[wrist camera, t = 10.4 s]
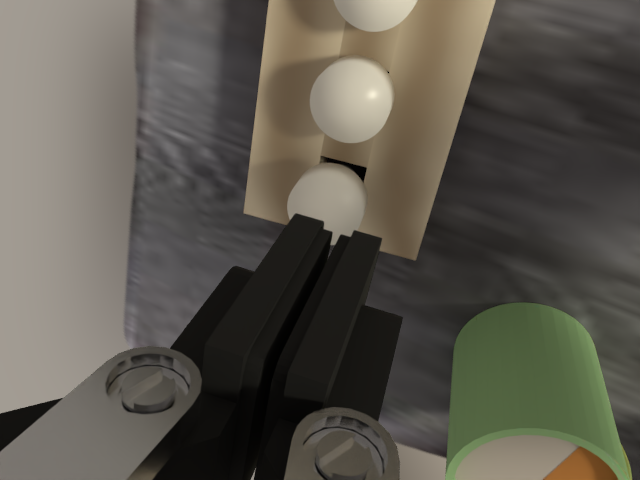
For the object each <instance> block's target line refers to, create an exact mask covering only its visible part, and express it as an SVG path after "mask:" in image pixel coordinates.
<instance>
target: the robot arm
mask: <svg viewBox="0 0 640 480" xmlns="http://www.w3.org/2000/svg"><path fill="white" fill-rule="evenodd" d="M332 234H333V232H332V231H329V230H325V229H324V221H322V220H318V219H315V218H311V217H308V216H304V215H301V214H297V213H295V214H294V215H293V217H292V218H291V220H290V221H289V223H288V224H287V226H286V227H285V228H284V230H283V231H282V233H281V234H280V236H279V237H278V239H277V240H276V242H275V243H274V244H273V246H272V247H271V249H270V250H269V252H268V253H267V255H266V256H265V258H264V259H263V260H262V262H261V263H260V265H259V266H258V268H257V269H256V271H255V272H254V271H251V270H248V269H244V268H241V267H238V266H235V267H232V268H231V269H230V270H229V272H228V273H227V274H226V276H225V277H224V278H223V279H222V281H221V282H220V283H219V285H218V286H217V287H216V289H215V290H214V291H213V293H212V294H211V295H210V297H209V298H208V299H207V300H206V302H205V303H204V304H203V306H202V307H201V308H200V310H199V311H198V312H197V314H196V315H195V316H194V318H193V319H192V320H191V321H190V323H189V324H188V325H187V327H186V328H185V329H184V331H183V332H182V333H181V335H180V336H179V337H178V338H177V340H176V341H175V342H174V344H173V345H172V346H171V348H170V349H169V348H166V347H155V346H147V347H138V348H133V349H130V350H127V351H124V352H121V353H119V354H117V355H116V356H114V357H113V358H111V359H110V360H108V361H107V362H106V363H104V364H103V365H102V366H101V367H99V368H98V369H97V370H96V371H95V372H94V373H93V374H91V375H90V376H89V377H88V378H87V379H85V380H84V381H83V382H82V383H81V384H80V385H78V386H77V387H76V388H75V389H74V390H72V391H71V392H70V393H69V394H68V395H66V396H65V397H64V398H61V399H57V400H53V401H49V402H45V403H41V404H37V405H33V406H29V407H25V408H21V409H17V410H13V411H9V412H5V413H1V414H0V480H251V477H252V475H253V473H254V470H255V468H256V471H255V477H254V480H400V478H399V477H400V471H399V470H400V461H399V455H398V450H397V446H396V444H395V442H394V441H393V439H392V437H391V435H390V433H389V432H388V431H387V430H386V429H385V428H384V427H383V426H382V425H381V424H380V423H379V422H378V419H379V415H380V411H381V407H382V403H383V399H384V394H385V390H386V386H387V382H388V378H389V374H390V369H391V365H392V361H393V357H394V353H395V349H396V344H397V340H398V336H399V332H400V328H401V323H402V319H403V317H401V316H398V315H395V314H391V313H388V312H385V311H381V310H378V309H375V308H372V307H368V306H365V302H366V298H367V294H368V291H369V287H370V283H371V280H372V276H373V272H374V269H375V265H376V261H377V258H378V254H379V250H380V246H381V242H382V238H380V237H377V236H374V235H370V234H367V233H363V232H360V231H356V230H354V231H353V233H352V235H351V237H349V236H346V235H342V234H341V235H340V236H339V238H338V240H337V242H336V244H335V246H334V248H333V250H332V252H331V254H330V256H329V258H328V254H329V250H330V245H331V240H332ZM327 259H328V261H327Z"/></svg>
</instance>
